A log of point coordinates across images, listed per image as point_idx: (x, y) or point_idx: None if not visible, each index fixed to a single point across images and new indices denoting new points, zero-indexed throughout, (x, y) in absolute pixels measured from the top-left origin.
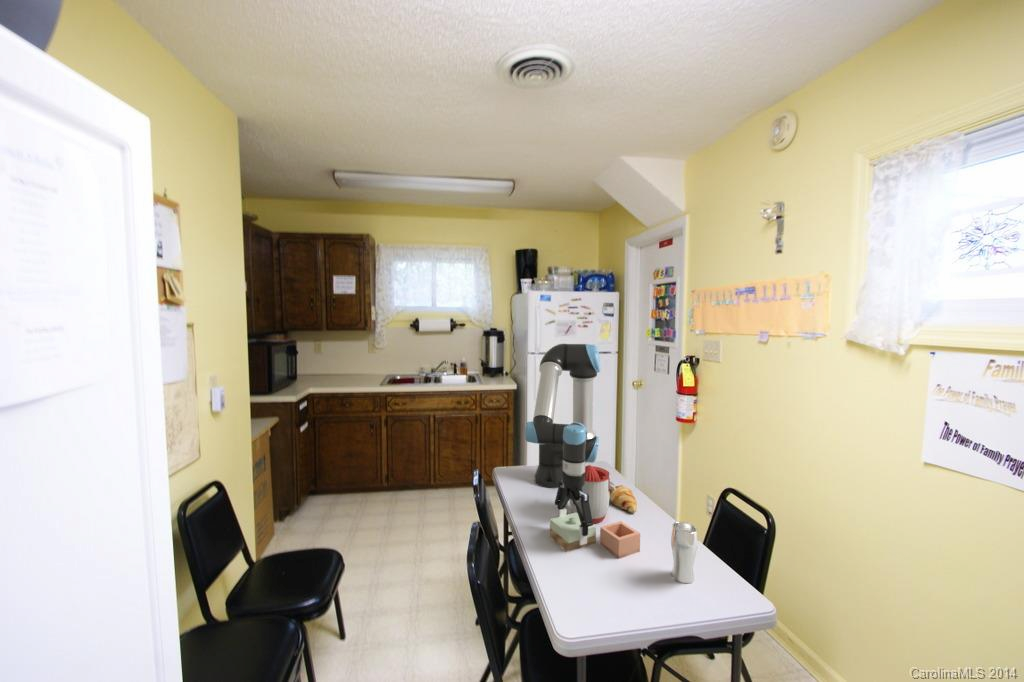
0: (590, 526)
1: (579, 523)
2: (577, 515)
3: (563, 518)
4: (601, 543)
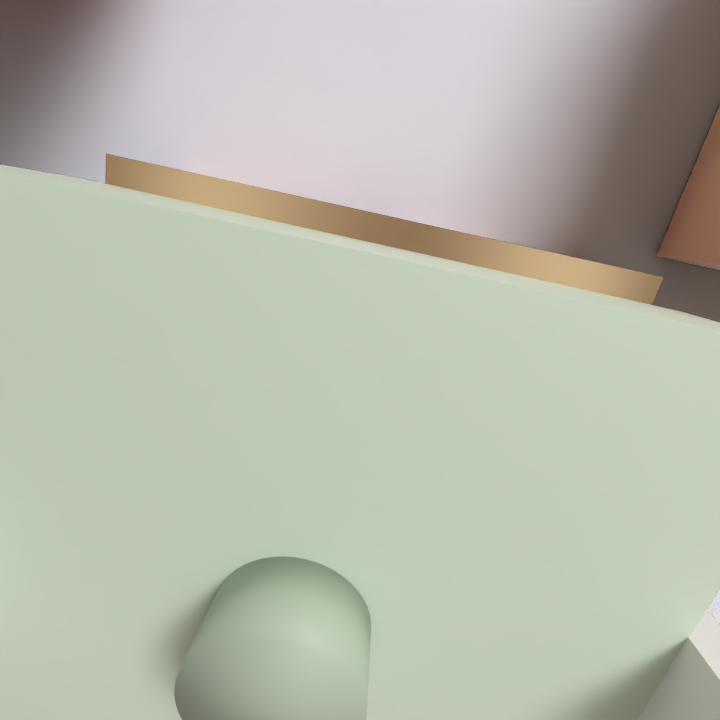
0: (718, 474)
1: (415, 550)
2: (69, 269)
3: (47, 620)
4: (711, 265)
